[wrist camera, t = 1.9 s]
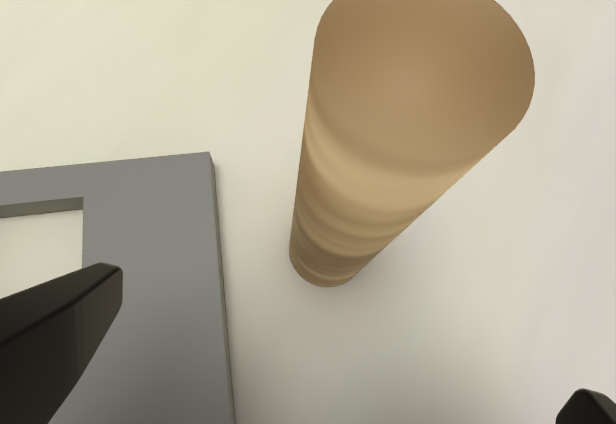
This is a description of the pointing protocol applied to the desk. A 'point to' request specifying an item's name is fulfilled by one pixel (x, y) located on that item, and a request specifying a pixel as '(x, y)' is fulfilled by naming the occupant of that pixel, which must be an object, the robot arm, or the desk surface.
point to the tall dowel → (398, 120)
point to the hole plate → (145, 285)
